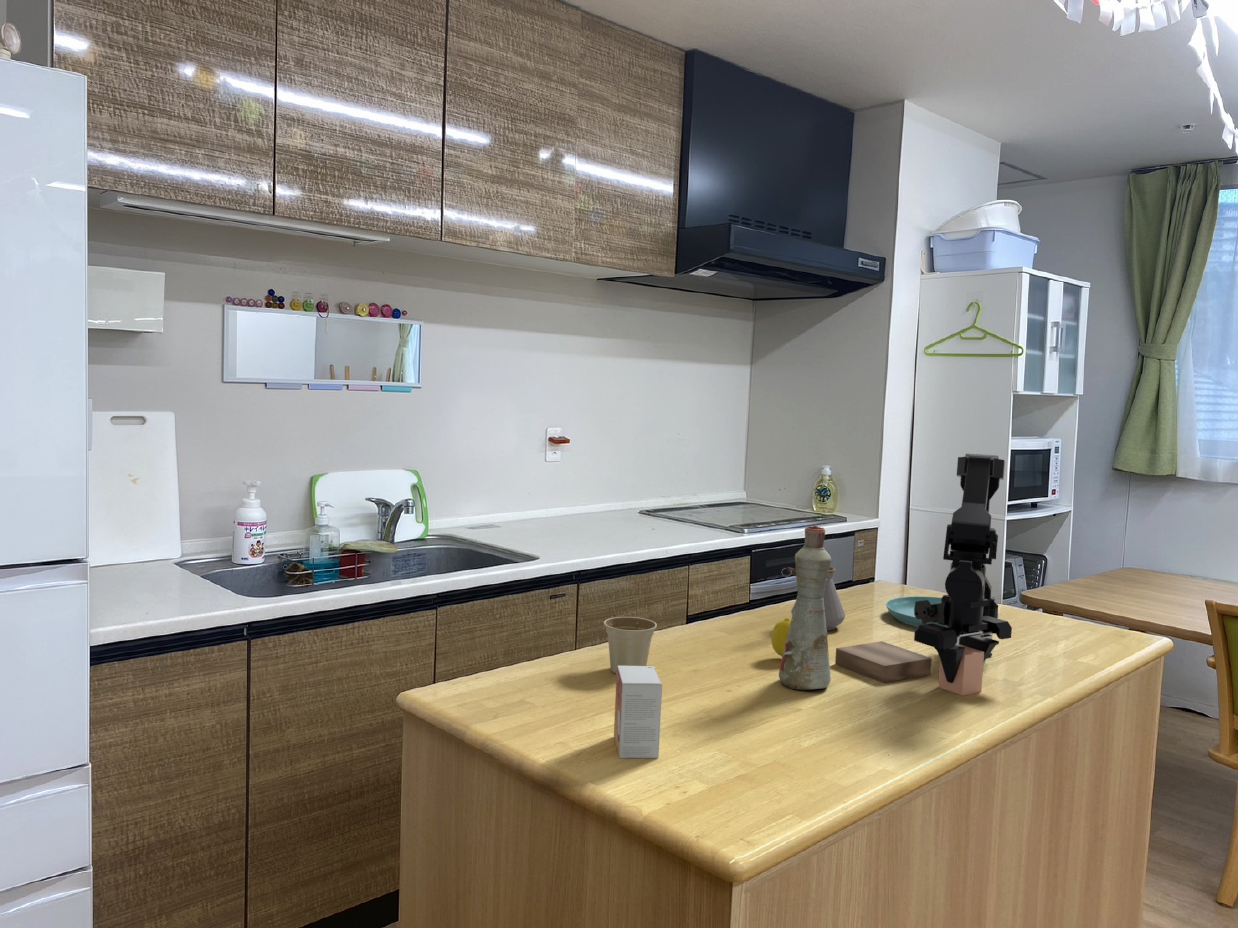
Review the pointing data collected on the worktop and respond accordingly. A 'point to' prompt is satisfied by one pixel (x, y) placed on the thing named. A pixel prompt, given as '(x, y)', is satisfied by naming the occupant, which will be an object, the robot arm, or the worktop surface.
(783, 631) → the lemon
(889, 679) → the walnut base
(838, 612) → the coffee pot
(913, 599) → the saucer
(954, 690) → the terracotta block
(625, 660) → the flower pot
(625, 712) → the small box
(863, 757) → the worktop surface
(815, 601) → the bottle
